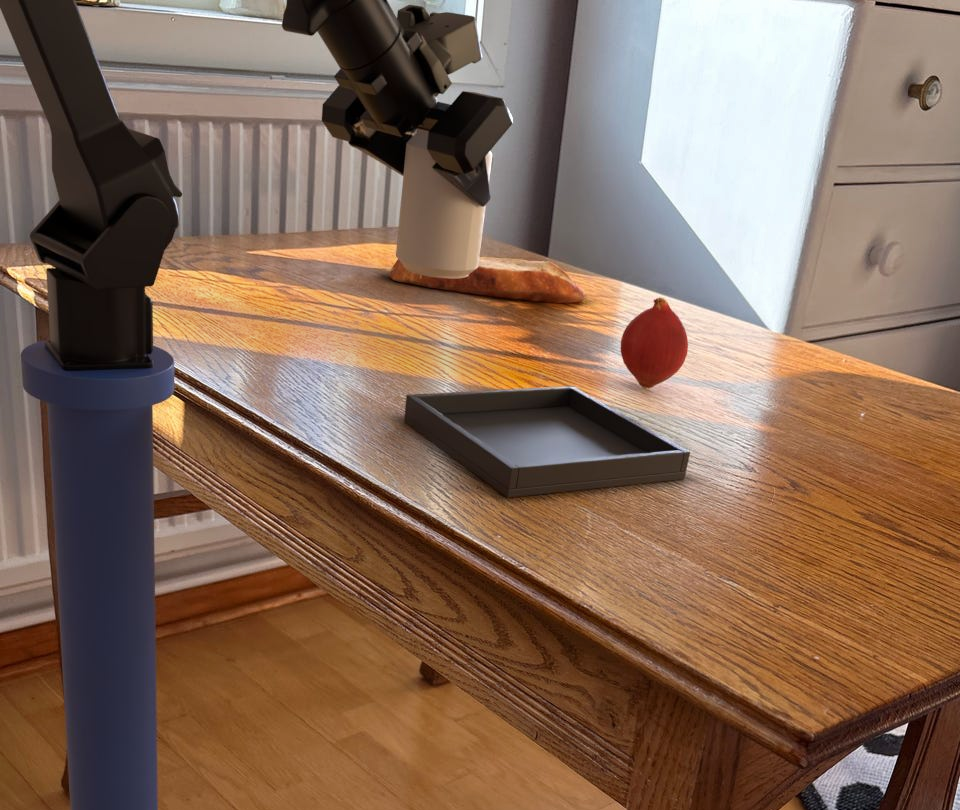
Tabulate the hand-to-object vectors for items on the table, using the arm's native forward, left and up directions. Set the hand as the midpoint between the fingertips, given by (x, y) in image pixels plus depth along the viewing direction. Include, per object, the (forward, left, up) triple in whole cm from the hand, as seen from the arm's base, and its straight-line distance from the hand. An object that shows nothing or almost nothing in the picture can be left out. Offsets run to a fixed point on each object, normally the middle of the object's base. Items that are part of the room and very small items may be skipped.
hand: (456, 193), depth 103 cm
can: (-1, 0, -7) cm, 7 cm away
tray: (-6, -27, -13) cm, 31 cm away
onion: (+13, -15, -13) cm, 24 cm away
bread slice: (+17, +20, -13) cm, 29 cm away
